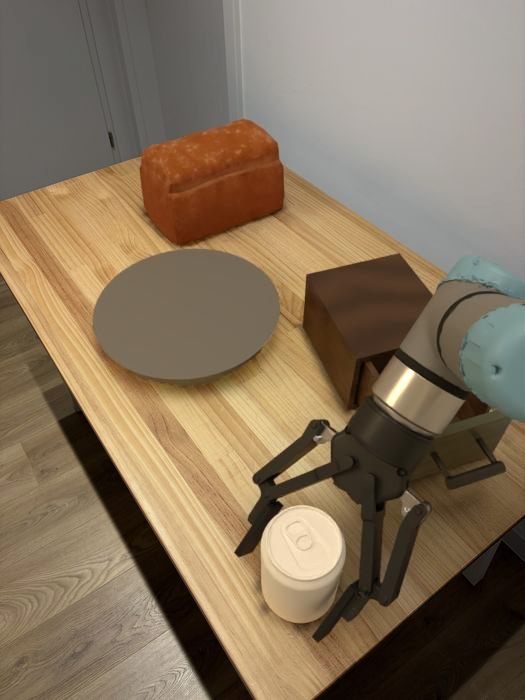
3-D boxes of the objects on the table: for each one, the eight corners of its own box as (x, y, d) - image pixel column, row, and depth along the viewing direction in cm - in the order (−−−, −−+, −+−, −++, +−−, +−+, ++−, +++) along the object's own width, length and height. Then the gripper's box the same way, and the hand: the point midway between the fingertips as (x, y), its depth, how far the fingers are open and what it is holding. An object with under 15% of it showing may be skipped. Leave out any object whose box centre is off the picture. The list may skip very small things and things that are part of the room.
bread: (138, 206, 108) (124, 134, 97) (245, 170, 117) (243, 100, 106) (177, 252, 99) (165, 178, 88) (290, 210, 107) (293, 137, 96)
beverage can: (288, 641, 57) (292, 604, 48) (247, 573, 61) (244, 527, 52) (350, 597, 59) (365, 554, 50) (307, 535, 64) (314, 485, 55)
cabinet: (441, 383, 79) (461, 331, 71) (346, 410, 76) (356, 359, 68) (387, 305, 89) (399, 252, 81) (302, 327, 86) (305, 274, 78)
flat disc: (314, 350, 83) (316, 329, 80) (141, 430, 74) (135, 411, 70) (227, 250, 99) (225, 229, 96) (75, 306, 90) (67, 285, 86)
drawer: (514, 486, 67) (541, 447, 60) (414, 520, 64) (431, 483, 57) (429, 365, 80) (444, 321, 73) (342, 389, 77) (350, 346, 70)
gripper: (520, 492, 49) (382, 670, 54) (327, 351, 60) (227, 509, 65) (508, 503, 43) (353, 704, 47) (295, 344, 54) (186, 519, 58)
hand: (280, 591), depth 56 cm, fingers open, 10 cm apart
